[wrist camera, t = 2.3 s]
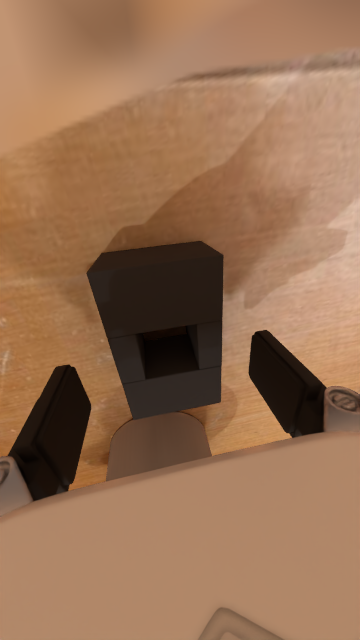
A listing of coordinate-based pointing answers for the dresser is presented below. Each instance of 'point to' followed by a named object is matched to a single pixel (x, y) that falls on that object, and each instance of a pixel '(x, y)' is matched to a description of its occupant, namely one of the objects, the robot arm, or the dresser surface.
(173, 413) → the coffee mug
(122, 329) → the black block with hole
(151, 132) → the dresser surface
